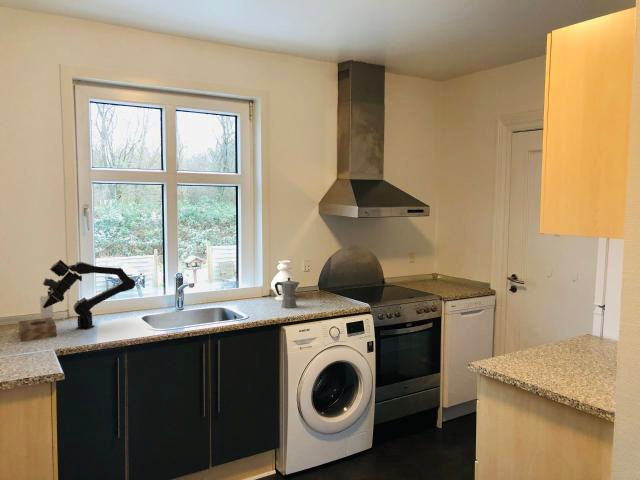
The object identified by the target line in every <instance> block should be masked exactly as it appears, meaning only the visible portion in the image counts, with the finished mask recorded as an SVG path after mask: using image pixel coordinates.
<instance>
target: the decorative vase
mask: <svg viewBox="0 0 640 480" xmlns="http://www.w3.org/2000/svg"><path fill="white" fill-rule="evenodd" d="M278 263H279V264H278V265H277V267H276V268H277V270H278V272H277V274H276V275H275V276H274V277H273V279H272V281H271V283H270V284H271V285H270V287H271V290H272V291H273V292H274V293H275V295H276V296H275V300H276V301H283V296H284V294H283V290H282V285H277V286H278V290H279V294H281V295H278V294H277V291H276V289H275V284H276V283H277V282H284V281H288V278H290V281H294V282H299V281H298V280H297V277H296V276H295V275H294V274H293V273H292V272H291V270H292V268H293V266H292V264H290V263H291V260H286V259H285V260H284V259H283V260H278ZM298 289H299V285H298V286H297V288H296V290H295V292H296V291H297V290H298Z"/></svg>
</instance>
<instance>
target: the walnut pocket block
mask: <svg viewBox="0 0 640 480" xmlns="http://www.w3.org/2000/svg"><path fill="white" fill-rule="evenodd" d="M17 323H18V334H19V339H20V342H27V341H35V340H36V341H37V340H40V339H42V338H43V339H49V337H50V338H55V337H56V336H57V325H56V322H55V321H54V319H53V317H47V318H41V317H40V318H36V319H35V318H34V319H29V320H28V319H27V320H25V319H24V320H18V322H17Z"/></svg>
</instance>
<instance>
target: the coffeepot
mask: <svg viewBox="0 0 640 480" xmlns="http://www.w3.org/2000/svg"><path fill="white" fill-rule="evenodd" d="M277 285H282V290H283V294H284V296H283V300H281V302H282V303H281V308H282V309H296V308H297V306H298V305H297V301H296V299H297V298H296V294H295V293H296V291H297V290H296V288H297V286H298V287H299V285H300V282H299V281H298V282H294V281H290V278H288V281H284V282H277V283H276V284H275V289H276V291H277V294H278V295H281V294H279V290H278V286H277ZM297 289H298V288H297ZM295 290H296V291H295Z"/></svg>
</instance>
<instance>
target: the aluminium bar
mask: <svg viewBox="0 0 640 480" xmlns="http://www.w3.org/2000/svg"><path fill="white" fill-rule="evenodd" d="M48 299H49V295H48V294H47V295H41V296H39V307H40V308H39V309H40V319H41V318H50V317H52V318H53V317H54V311H53V310H54V309H53V305H51V306H49V307H47V308H43V306H44V304H45V303H46V302H47V300H48Z"/></svg>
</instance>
